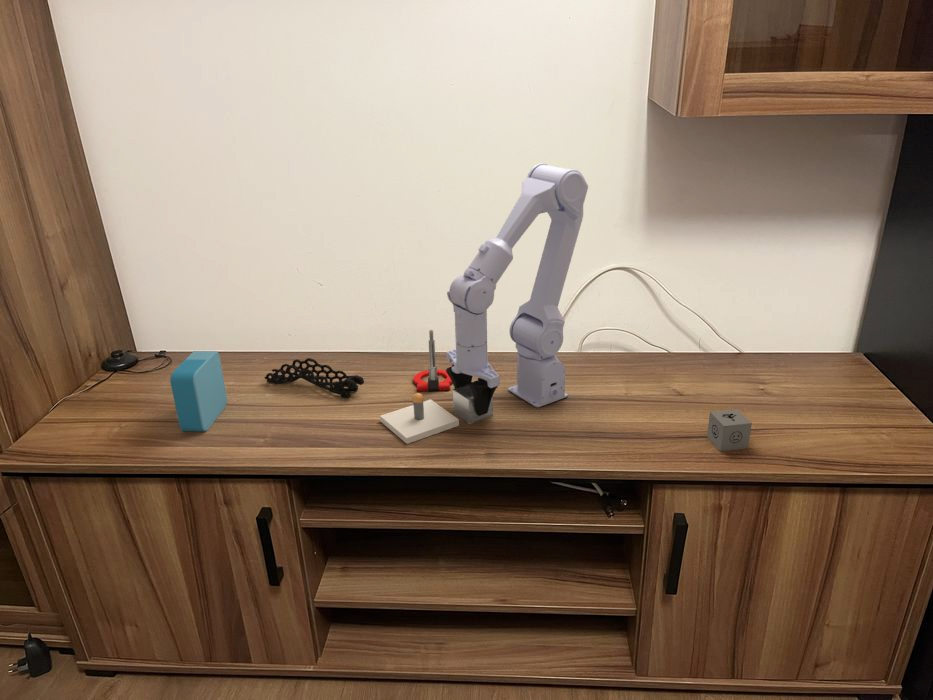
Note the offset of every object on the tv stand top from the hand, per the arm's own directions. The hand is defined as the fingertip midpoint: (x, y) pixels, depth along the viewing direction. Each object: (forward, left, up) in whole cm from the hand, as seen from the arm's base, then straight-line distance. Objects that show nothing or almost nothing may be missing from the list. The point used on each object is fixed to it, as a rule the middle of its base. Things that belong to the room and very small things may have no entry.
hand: (473, 407), depth 135 cm
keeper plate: (+3, +10, -1) cm, 11 cm away
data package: (+29, +42, -2) cm, 51 cm away
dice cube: (-34, -30, -2) cm, 46 cm away
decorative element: (+28, +20, -2) cm, 35 cm away
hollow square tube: (0, 0, -1) cm, 1 cm away
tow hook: (+16, -1, -2) cm, 16 cm away
